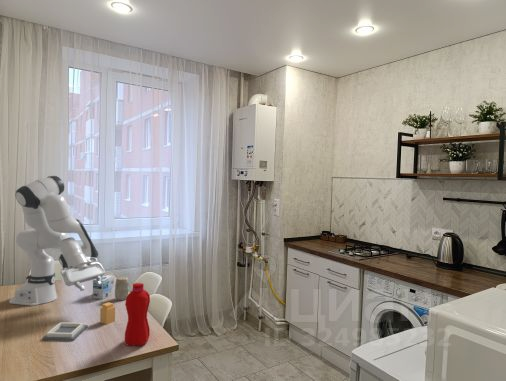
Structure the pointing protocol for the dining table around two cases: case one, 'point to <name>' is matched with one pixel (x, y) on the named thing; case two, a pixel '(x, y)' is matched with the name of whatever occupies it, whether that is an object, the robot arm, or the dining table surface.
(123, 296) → the carving
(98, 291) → the light bulb box
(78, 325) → the base
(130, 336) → the water bottle
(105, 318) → the stepped orange block
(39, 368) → the dining table surface
